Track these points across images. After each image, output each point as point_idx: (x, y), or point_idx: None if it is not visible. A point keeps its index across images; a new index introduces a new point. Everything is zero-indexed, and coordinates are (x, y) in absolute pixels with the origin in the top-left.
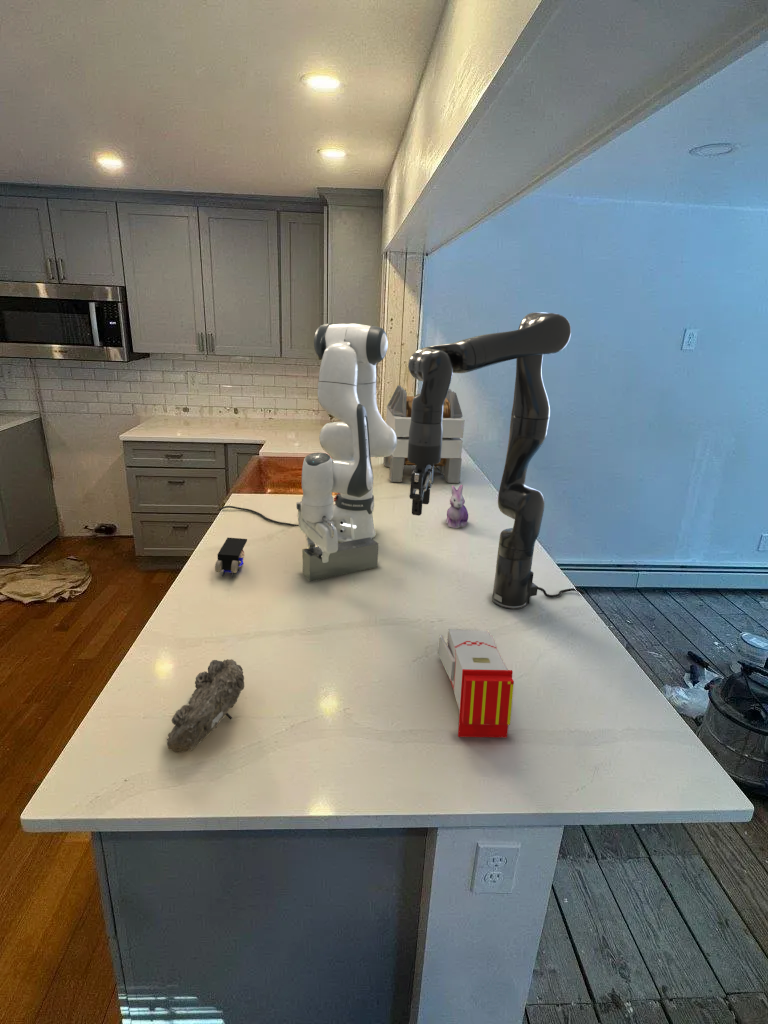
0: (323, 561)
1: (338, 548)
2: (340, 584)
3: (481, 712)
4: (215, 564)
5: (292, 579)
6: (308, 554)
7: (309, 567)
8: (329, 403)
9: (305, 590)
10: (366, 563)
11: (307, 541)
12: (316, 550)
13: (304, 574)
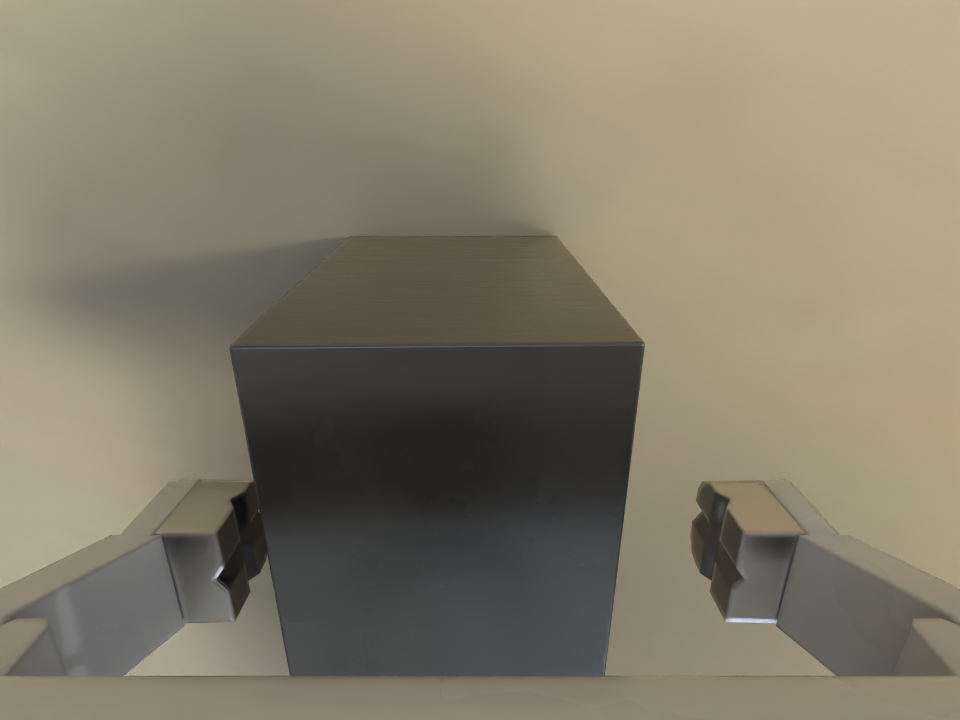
0: (168, 496)
1: None
2: (201, 472)
3: None
4: None
5: (482, 69)
6: (337, 360)
7: (311, 278)
8: None
9: (155, 105)
10: None
11: (863, 555)
12: (461, 549)
13: (498, 239)
